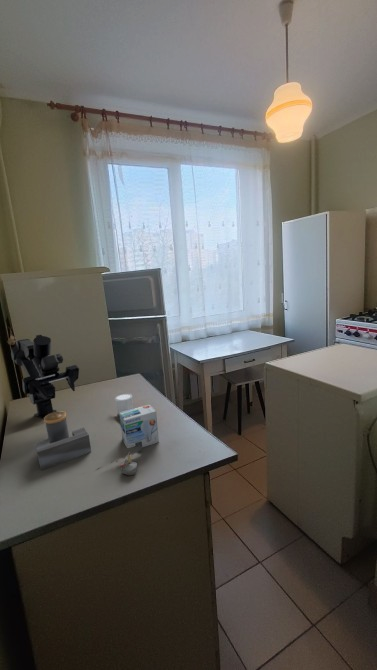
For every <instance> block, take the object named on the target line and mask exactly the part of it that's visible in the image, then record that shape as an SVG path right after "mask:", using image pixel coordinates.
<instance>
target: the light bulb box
mask: <svg viewBox="0 0 377 670" xmlns="http://www.w3.org/2000/svg"><path fill="white" fill-rule="evenodd" d="M119 414H120V416H119V422H120V431H121V438H122V442H123V443H124V445H125V447H126V449H130V448H134V447H136V446H139V447H140V448H142V449H143V448H145V447H148V446H151V445H154V444H157V443H159V442H160V440H159V439H160V437H159V426H158V417H157V416H158V415H157V411H156V410H155V409H154V407H152V405H150V404H145V405H142V406H139V407H136V408H133V409H131V410H127V411H123V412H120V413H119Z"/></svg>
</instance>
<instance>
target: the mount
mask: <svg viewBox="0 0 377 670" xmlns="http://www.w3.org/2000/svg"><path fill="white" fill-rule="evenodd" d="M71 435H72V436H69V438H66V439H63V440H60V441H57V442H54V443H51V444H50V442H49V439H48V438H47V439H44V440H41V441H38V442H35V443H34V445H35V450H36V455H37V459H38V460H37V461H38V464H39V469H40V471H43V470H46V469H49V468H52V467H54V466H57V465H60V464H63V463H64V462H67V461H70V460H73V459H76V458H78V457H81V456H83V455H86V454H89V453H91V452H92V447H91V440H90V435H89V433H88V431H87V430H86V429H85V427H80V428H78V429H74V430H71Z"/></svg>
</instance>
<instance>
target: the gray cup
mask: <svg viewBox="0 0 377 670" xmlns="http://www.w3.org/2000/svg"><path fill="white" fill-rule="evenodd" d="M43 419H44V423H45V428H46V432H47V433H46V434H47V439H49V442H50V444H51V443H54V442H57V441H60V440H63V439H66V438H69V437H70V433H69V428H68V427H69V426H68V421H67V413H66V411H63V410H62V411H61V410H60V411H57V412H54V413H51V414H48V415H47V416H45V417H44V418H43Z"/></svg>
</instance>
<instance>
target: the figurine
mask: <svg viewBox="0 0 377 670" xmlns="http://www.w3.org/2000/svg"><path fill="white" fill-rule="evenodd" d="M131 454H132V452H131V451H129V450H128V454H127V455H126V456H125V459H124V460H122V461H121V464H120V471H121V473H122V474H123V475H126V476H134V475H136V471H137V466H138V463H137V462H136V461H132V457H131Z"/></svg>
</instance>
